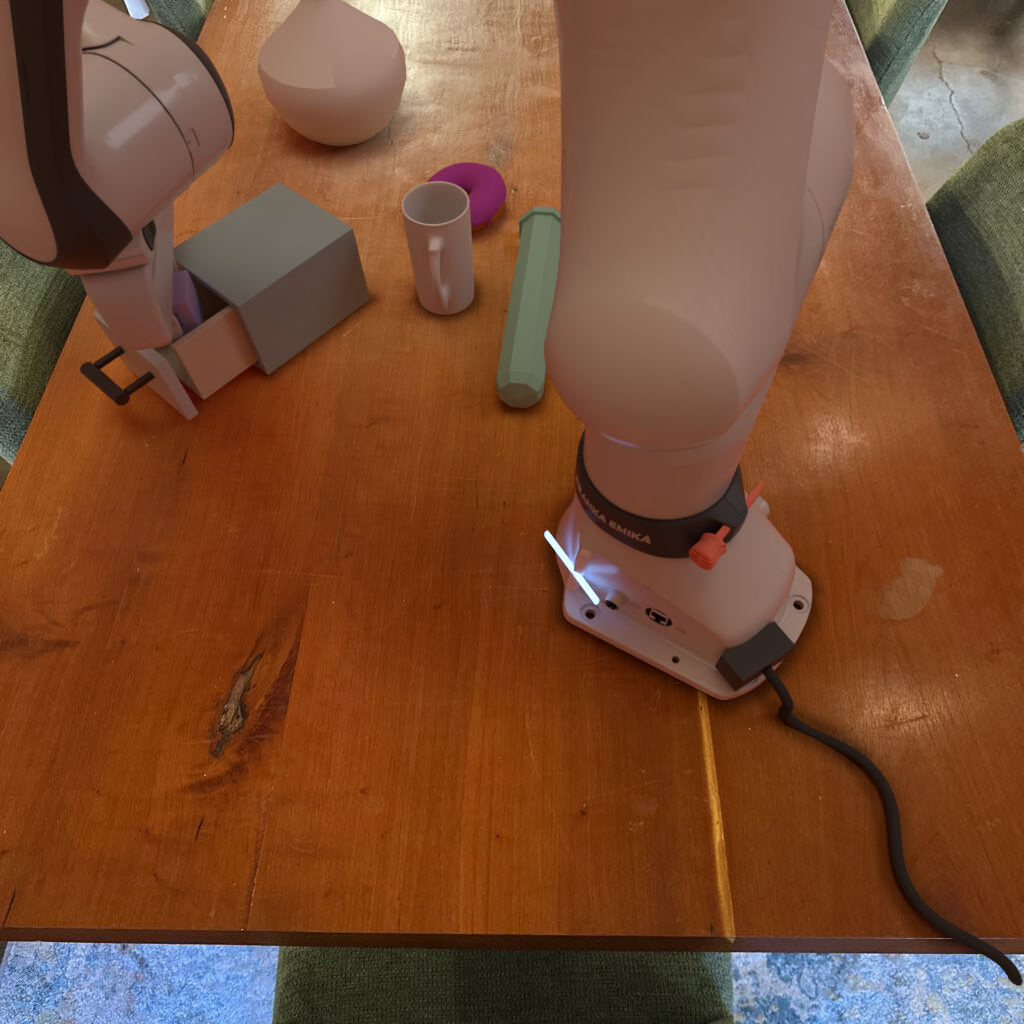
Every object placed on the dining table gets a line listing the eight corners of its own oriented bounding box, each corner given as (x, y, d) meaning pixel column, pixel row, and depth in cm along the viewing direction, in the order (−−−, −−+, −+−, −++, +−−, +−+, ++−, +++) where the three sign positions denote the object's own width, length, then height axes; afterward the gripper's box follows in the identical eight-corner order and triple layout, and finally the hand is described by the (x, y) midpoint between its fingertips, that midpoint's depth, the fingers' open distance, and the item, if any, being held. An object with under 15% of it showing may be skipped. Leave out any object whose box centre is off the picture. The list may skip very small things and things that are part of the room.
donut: (462, 176, 96) (459, 142, 92) (525, 208, 93) (525, 174, 89) (406, 219, 92) (401, 185, 88) (470, 253, 89) (468, 220, 85)
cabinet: (268, 375, 80) (238, 306, 71) (200, 323, 84) (164, 252, 75) (370, 299, 85) (353, 227, 77) (302, 254, 89) (279, 181, 81)
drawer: (152, 447, 74) (115, 395, 67) (92, 393, 78) (51, 339, 71) (293, 343, 81) (272, 286, 74) (232, 298, 84) (206, 240, 78)
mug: (418, 274, 87) (404, 181, 77) (477, 274, 87) (470, 180, 77) (411, 339, 82) (394, 248, 71) (474, 339, 82) (466, 248, 71)
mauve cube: (204, 337, 74) (186, 302, 70) (157, 345, 73) (136, 310, 69) (204, 305, 76) (186, 269, 72) (158, 312, 76) (138, 277, 72)
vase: (250, 123, 103) (198, -37, 87) (360, 71, 109) (330, -88, 93) (328, 185, 96) (287, 22, 79) (441, 125, 102) (424, -37, 86)
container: (534, 374, 71) (558, 198, 83) (477, 385, 73) (509, 213, 86) (556, 413, 75) (577, 240, 88) (502, 422, 78) (530, 253, 90)
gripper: (76, 117, 66) (145, 246, 78) (55, 274, 56) (138, 396, 68) (150, 106, 67) (207, 236, 79) (143, 260, 57) (210, 384, 68)
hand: (175, 312), depth 73 cm, fingers closed on mauve cube, 4 cm apart
